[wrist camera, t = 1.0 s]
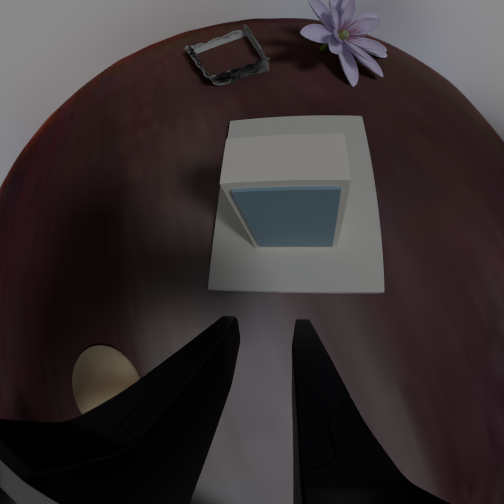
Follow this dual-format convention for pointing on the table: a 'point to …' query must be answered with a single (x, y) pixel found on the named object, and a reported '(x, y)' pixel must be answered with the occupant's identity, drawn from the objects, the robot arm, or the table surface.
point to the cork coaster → (101, 376)
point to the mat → (305, 260)
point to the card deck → (288, 188)
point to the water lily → (346, 35)
